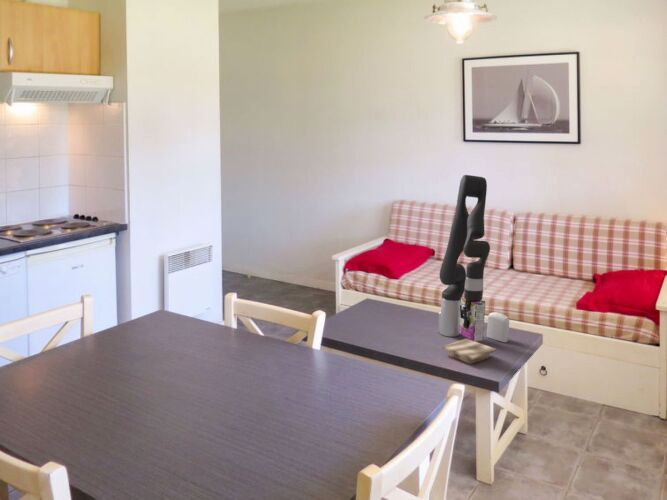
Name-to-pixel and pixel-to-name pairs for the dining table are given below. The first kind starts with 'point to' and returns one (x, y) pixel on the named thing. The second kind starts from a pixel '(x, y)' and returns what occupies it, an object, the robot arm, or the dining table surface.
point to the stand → (469, 350)
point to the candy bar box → (473, 321)
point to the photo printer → (498, 327)
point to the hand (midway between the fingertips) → (471, 326)
